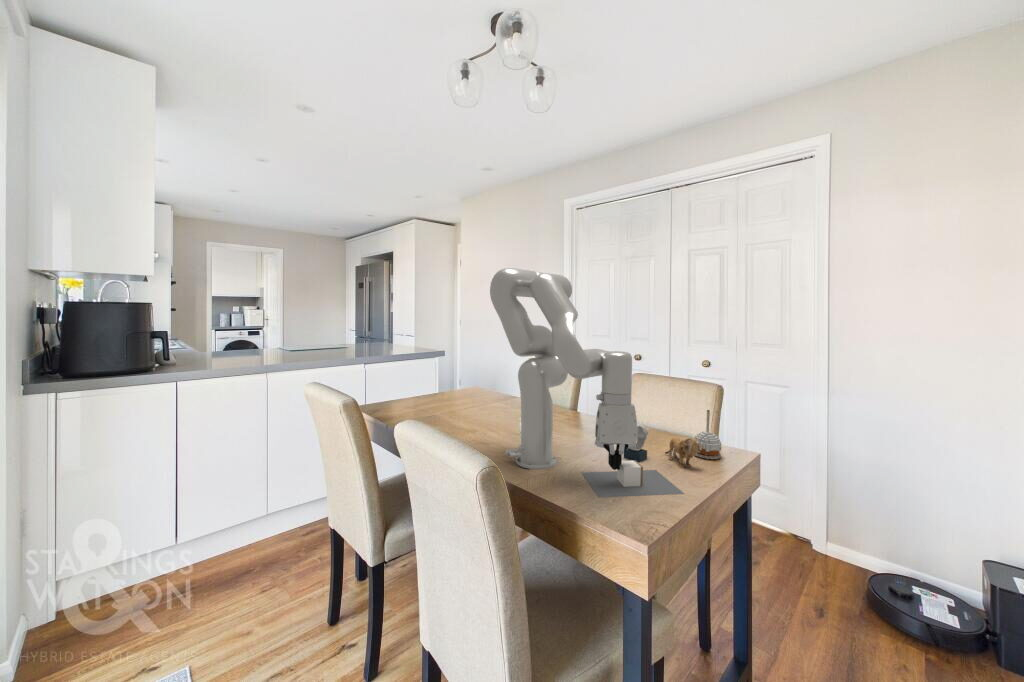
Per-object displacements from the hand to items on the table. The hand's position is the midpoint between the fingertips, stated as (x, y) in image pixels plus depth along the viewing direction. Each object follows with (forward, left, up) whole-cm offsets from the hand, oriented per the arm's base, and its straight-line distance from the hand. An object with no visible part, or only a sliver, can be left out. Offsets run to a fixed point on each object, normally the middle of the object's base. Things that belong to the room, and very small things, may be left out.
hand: (614, 467), depth 109 cm
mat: (+4, 0, -4) cm, 6 cm away
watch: (+13, +18, -5) cm, 23 cm away
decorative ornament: (+37, +19, -5) cm, 42 cm away
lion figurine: (+26, +14, -5) cm, 30 cm away
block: (+2, 0, -2) cm, 2 cm away
